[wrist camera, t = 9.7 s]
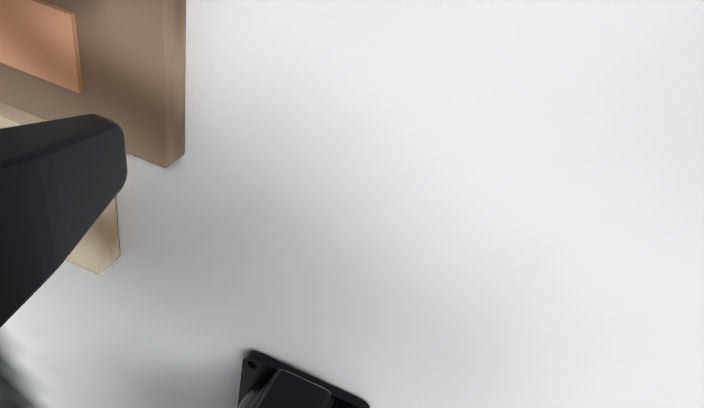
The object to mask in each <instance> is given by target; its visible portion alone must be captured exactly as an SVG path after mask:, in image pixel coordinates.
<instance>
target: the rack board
mask: <svg viewBox="0 0 704 408" xmlns="http://www.w3.org/2000/svg"><path fill="white" fill-rule="evenodd" d="M185 9H186V0H0V101H2V102H4V103H7V104H9V105H12V106H14V107H17V108H19V109H21V110H24V111H26V112H29V113H31V114H34V115H36V116H39V117H41V118H44V119H46V120H48V121H49V120H55V119H61V118H67V117H73V116H79V115H85V114H97V115H101V116H103V117H106V118H108V119H111V120H113V121H116V122H118V123H119V124H120V125H121V126H122V128H123V130H124V133H125V145H126V152H127V153H129V154H132V155H134V156H137V157H139V158H142V159H144V160H146V161H149V162H151V163H154V164H156V165H159V166H161V167H164V168H167V167H168V166H170V165H171V164H172V163H173V162H175V161H176V160H177V159H178V158H179V157H181V156H182V155H183V154H184V126H185Z"/></svg>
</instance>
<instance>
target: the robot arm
mask: <svg viewBox="0 0 704 408" xmlns="http://www.w3.org/2000/svg"><path fill="white" fill-rule="evenodd" d="M126 177H127V158H126V145H125V133H124V130H123V128H122V126H121V125H120V124H119V123H118V122H116V121H113V120H111V119H108V118H106V117H103V116H101V115H97V114H85V115H79V116H73V117H67V118H61V119H55V120H49V121H43V122H37V123H31V124H25V125H19V126H13V127H7V128H1V129H0V328H1V327H2V325H3V324H4V323H5V322H6V321H7V320H8V319H9V318H10V317H11V316H12V315H13V314H14V313H15V312H16V311H17V310H18V309H19V308H20V307H21V306H22V305H23V304H24V303H25V302H26V301H27V300H28V299H29V298H30V297H31V296H32V295H33V294H34V293H35V292H36V291H37V290H38V289H39V288H40V287H41V286H42V285H43V284H44V283H45V282H46V281H47V279H48V278H49V277H50V276H51V275H52V274H53V273H54V272H55V271H56V270H57V269H58V268H59V266H60V265H61V264H62V263H63V262H64V260H65V259H66V258H67V257H68V256H69V255H70V253H71V252H72V251H73V249H74V248H75V247H76V246H77V244H78V243H79V242H80V241H81V239H82V238H83V237H84V236H85V234H86V233H87V232H88V231H89V229H90V228H91V227H92V225H93V224H94V223H95V222H96V220H97V219H98V218H99V217H100V215H101V214H102V213H103V212H104V210H105V209H106V208H107V207H108V205H109V204H110V203H111V201H112V200H113V199H114V198H115V196H116V195H117V194H118V193H119V191H120V190H121V189H122V187H123V185H124V183H125V181H126ZM237 408H370V407H369V405H368V404H367V403H366V402H364V401H362V400H360V399H358V398H356V397H353V396H351V395H349V394H347V393H345V392H342V391H340V390H338V389H336V388H334V387H332V386H329V385H327V384H325V383H323V382H321V381H318V380H316V379H314V378H312V377H310V376H308V375H305V374H303V373H301V372H299V371H297V370H294V369H292V368H290V367H288V366H286V365H283V364H281V363H279V362H277V361H275V360H273V359H270V358H268V357H266V356H264V355H262V354H259V353H257V352H254V351H250V352H248V353H247V355H246V356H245V358H244V360H243V365H242V374H241V383H240V392H239V401H238V407H237Z"/></svg>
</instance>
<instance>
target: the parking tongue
mask: <svg viewBox="0 0 704 408" xmlns="http://www.w3.org/2000/svg"><path fill="white" fill-rule="evenodd" d="M43 121H48V120H46V119H44V118H41V117H39V116H36V115H34V114H31V113H29V112H26V111H24V110H21V109H19V108H17V107H14V106H12V105H9V104H7V103H4V102H2V101H0V129H1V128H7V127H13V126H19V125H25V124H31V123H37V122H43ZM119 256H120V246H119V234H118V222H117V210H116V198H114V199H113V200H112V201H111V203H110V204H109V205H108V207H107V208H106V209H105V210H104V212H103V213H102V214H101V215H100V217H99V218H98V219H97V220H96V222H95V223H94V224H93V225H92V227H91V228H90V229H89V231H88V232H87V233H86V234H85V236H84V237H83V238H82V239H81V241H80V242H79V243H78V244H77V246H76V247H75V248H74V249H73V251H72V252H71V253H70V255H69V256H68V257H67V258H66V259H65V260H67V261H69V262H71V263H74V264H76V265H78V266H80V267H82V268H85V269H87V270H89V271H91V272H93V273H95V274H98V275H100V274H101V273H102V272H103V271H104V270H105V269H106V268H107V267H108V266H110V265H111V264H112V263H113V262H114V261H115V260H116V259H117V258H118V257H119Z"/></svg>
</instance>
